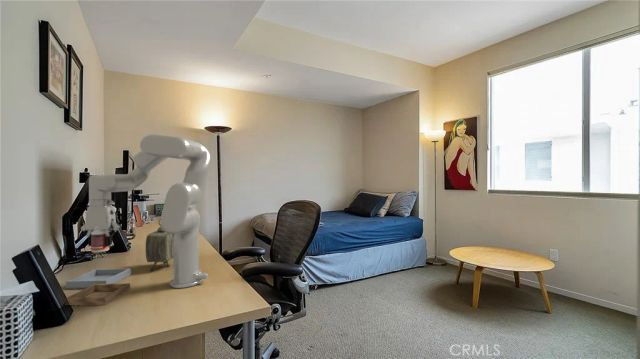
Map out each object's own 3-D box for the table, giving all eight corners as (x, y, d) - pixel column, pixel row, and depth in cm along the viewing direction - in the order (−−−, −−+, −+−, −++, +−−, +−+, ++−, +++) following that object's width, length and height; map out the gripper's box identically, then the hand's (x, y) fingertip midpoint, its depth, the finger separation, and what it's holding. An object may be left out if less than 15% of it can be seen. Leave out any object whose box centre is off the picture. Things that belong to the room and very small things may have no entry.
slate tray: (130, 275, 128) (130, 268, 128) (106, 288, 112) (106, 280, 112) (95, 275, 127) (95, 269, 127) (66, 289, 112) (66, 281, 112)
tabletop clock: (163, 262, 147) (163, 215, 147) (180, 262, 147) (180, 215, 147) (145, 271, 132) (145, 219, 133) (164, 271, 132) (163, 219, 132)
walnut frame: (130, 289, 110) (130, 283, 110) (105, 304, 97) (105, 297, 97) (94, 290, 110) (94, 284, 110) (64, 305, 96) (64, 298, 96)
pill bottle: (108, 251, 119) (108, 225, 119) (90, 253, 116) (90, 227, 116) (109, 248, 124) (109, 223, 124) (92, 250, 121) (91, 225, 121)
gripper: (126, 202, 124) (126, 243, 124) (86, 203, 123) (86, 243, 123) (114, 204, 117) (115, 247, 117) (72, 204, 116) (72, 247, 116)
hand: (100, 244), depth 120 cm, fingers closed on pill bottle, 6 cm apart
